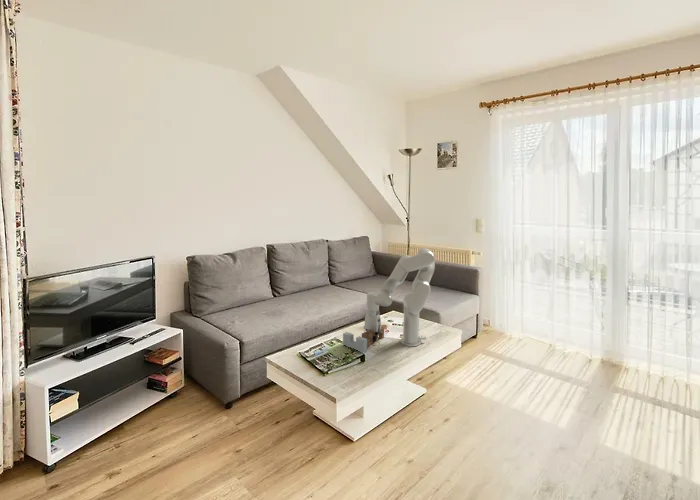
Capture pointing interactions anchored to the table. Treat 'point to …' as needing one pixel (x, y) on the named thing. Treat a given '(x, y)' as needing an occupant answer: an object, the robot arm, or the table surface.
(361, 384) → the table surface
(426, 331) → the table surface
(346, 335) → the grey u-shaped block
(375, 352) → the table surface
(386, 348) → the table surface
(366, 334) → the brown wooden board
